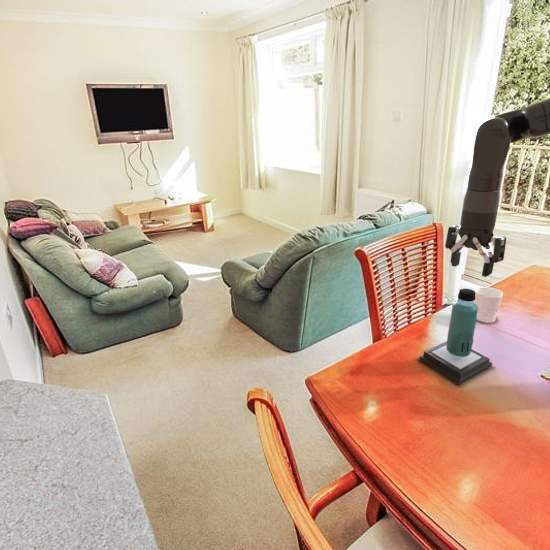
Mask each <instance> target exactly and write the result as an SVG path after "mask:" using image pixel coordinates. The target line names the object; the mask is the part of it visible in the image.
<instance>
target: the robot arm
mask: <svg viewBox="0 0 550 550" xmlns="http://www.w3.org/2000/svg"><path fill="white" fill-rule="evenodd" d="M472 135H473V137H472V138H473V150H472V158H471V165H470V167H469V172H468V175H467V182H466V189H465V193H464V195H463V202H462V209H461V214H460V222H459V225H460V227H459V225H457V224H456V225H452V226H449V227H448V228H447V234H446V240H445V243H444V244H445V245H444V247H445V249H447V250H450V251H451V256H450V264H451V267H458V266H459V265H460V262H461V255H462V252H461V250H463V248H467V249H472V250H474V251H478V253H479V255H480V256H482V258H483V260H484V262H483V266H482V272H481V277H484V278H486V277H489V276H490V275H492V274H493V270H494V265H495V264H496V263H500V262H503V261H504V259H505V252H506V244H507V237H506V236H505V235H503V236H496V235H494V230H495V227H496V223H497V216H498V211H499V205H500V200H501V199H500V198H501V187H502V182H503V177H504V167H505V163H506V160H507V158H508V154H509V151H510V147H511V144H513V143H516V142H518V141H522V140H525V139H526V140H527V139H536V138H541V137H544V136H548V135H550V97H549V98H547V99H543V100H540V101H536V102H534V103H532V104H530V105H528V106H527V105H526V106H524V107H523V108H519V109H514V110H511V111H506V112H503V113H500V114H497V115H493V116H490V117H487V118H485V119H483V120H481V121H480V122H479V123H478V124H477V125H476V127H475V128H474V130H473V134H472ZM458 235H459V237H460V239H459V240H458V241H457V238H458ZM491 243H492V244H491Z"/></svg>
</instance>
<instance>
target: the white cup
mask: <svg viewBox="0 0 550 550" xmlns="http://www.w3.org/2000/svg"><path fill="white" fill-rule="evenodd" d="M475 292H476V295H475V297H476V298H475V300H474V303H475V304H476V305H477V306H478V312H477V318H476V319H477V320H476V321H478V322H482V323H486V324H487V323H488V324H490V323H494V322H496V320H497V316H498V314H499V311H500V307H501V305H502V300H503V296H504V292H503V291H502V290H500V289H498V288H494V287H490V286H481V287H477V288H476V289H475Z"/></svg>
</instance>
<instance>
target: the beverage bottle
mask: <svg viewBox="0 0 550 550" xmlns="http://www.w3.org/2000/svg"><path fill="white" fill-rule="evenodd" d="M457 298H458V299H457V300H455V301H454V302H452V305H451V314H450V321H449V325H448V331H447V339H446V341H447V347H446V348H447V351H448V352H449V353H450V354H452V355H455V356H459V357H466V356H468V355H469V354H470V352H471V349H473V345H474V337H475V331H476V325H477V321H478V320H477V319H476V318H477V312H478V306H477V305H476V304H475V298H476V290H473V289H471V288H461V289H459V291H458V294H457Z"/></svg>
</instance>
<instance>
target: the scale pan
mask: <svg viewBox="0 0 550 550" xmlns="http://www.w3.org/2000/svg"><path fill="white" fill-rule="evenodd" d="M446 347H447V345H445V346H443V347H441V348H439V349H437V350H434V351H432V352H431V353H432V354H434V355H435V356H437V357H439V358H441V359H442V360H444V361H446V362H447V363H449V364H451V365H452V366H454V367H456V368H457V369H459V370H461V369H463V368H465V367H467V366H469V365H471V364H473V363H475V362H476V361H478V360H480V359H481V358H482V357H480V356H478V355H477V354H475V353H473V352H470V354H469V355H468V356H466V357H459V356H455V355H452V354H450V353H449V352H448V351H447V348H446Z"/></svg>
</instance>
